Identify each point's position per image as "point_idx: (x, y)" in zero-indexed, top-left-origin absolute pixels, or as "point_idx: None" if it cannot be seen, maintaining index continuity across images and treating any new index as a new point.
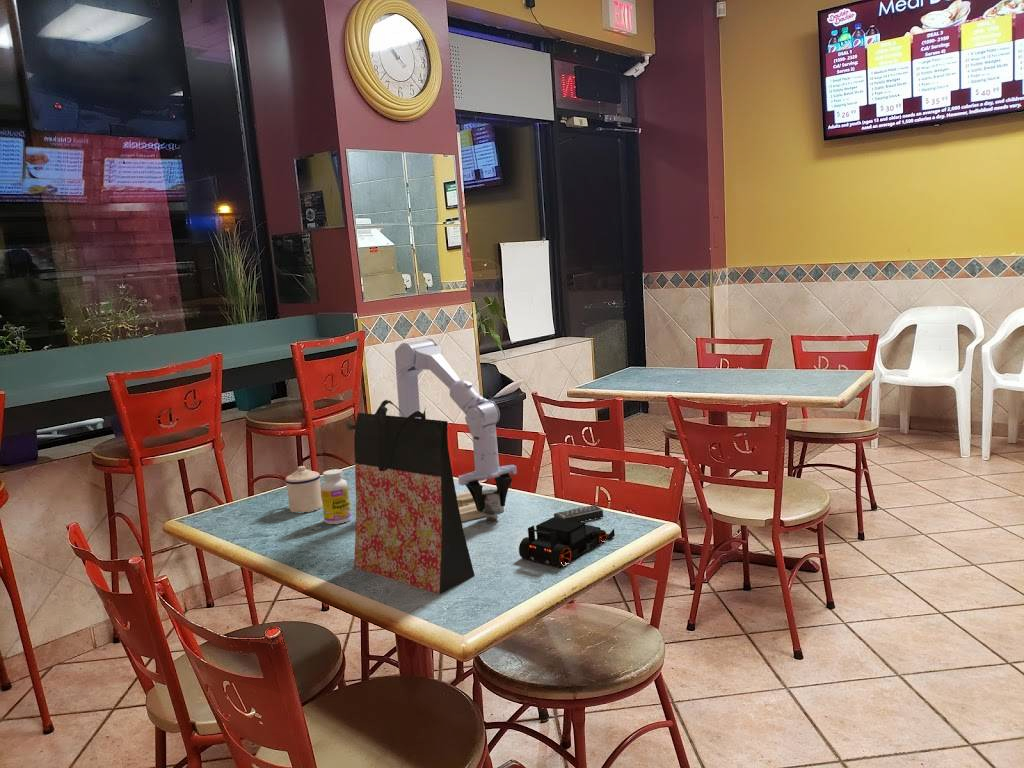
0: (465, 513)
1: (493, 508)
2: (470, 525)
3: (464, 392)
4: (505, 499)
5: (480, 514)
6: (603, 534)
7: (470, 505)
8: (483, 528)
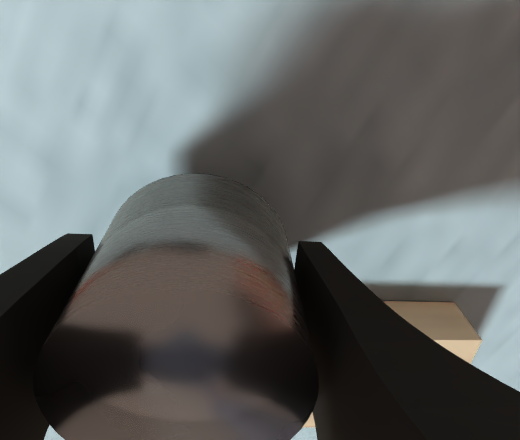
0: None
1: (216, 196)
2: (373, 215)
3: None
4: (22, 261)
5: None
6: None
7: None
8: (352, 93)
